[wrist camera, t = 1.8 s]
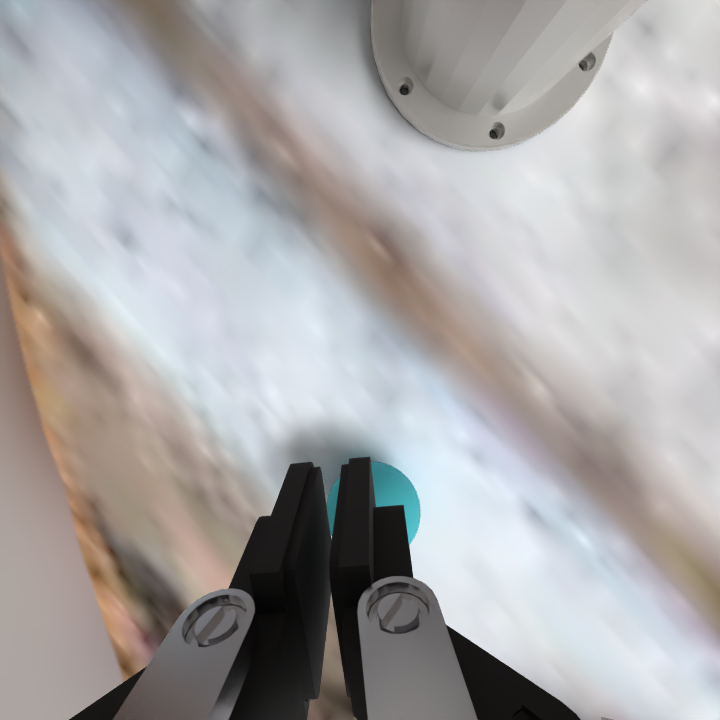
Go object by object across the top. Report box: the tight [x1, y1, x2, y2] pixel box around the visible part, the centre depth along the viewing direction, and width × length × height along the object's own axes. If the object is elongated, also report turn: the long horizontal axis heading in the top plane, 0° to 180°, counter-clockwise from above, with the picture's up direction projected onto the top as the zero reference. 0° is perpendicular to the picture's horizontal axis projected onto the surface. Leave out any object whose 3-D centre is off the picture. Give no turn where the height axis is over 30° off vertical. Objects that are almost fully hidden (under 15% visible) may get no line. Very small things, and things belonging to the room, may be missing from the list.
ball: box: [326, 462, 420, 545], centre depth 27 cm, size 6×6×6 cm
